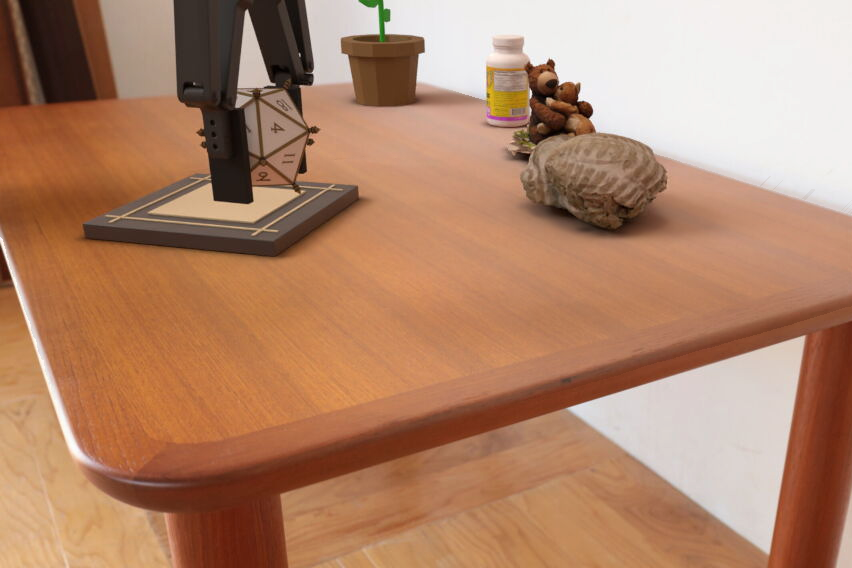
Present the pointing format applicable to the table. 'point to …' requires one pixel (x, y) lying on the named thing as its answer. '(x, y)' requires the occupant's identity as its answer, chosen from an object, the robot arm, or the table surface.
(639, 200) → the fossil
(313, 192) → the game board
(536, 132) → the bear figurine
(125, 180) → the table surface
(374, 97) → the flowerpot
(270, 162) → the game die
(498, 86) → the supplement bottle
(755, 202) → the table surface
